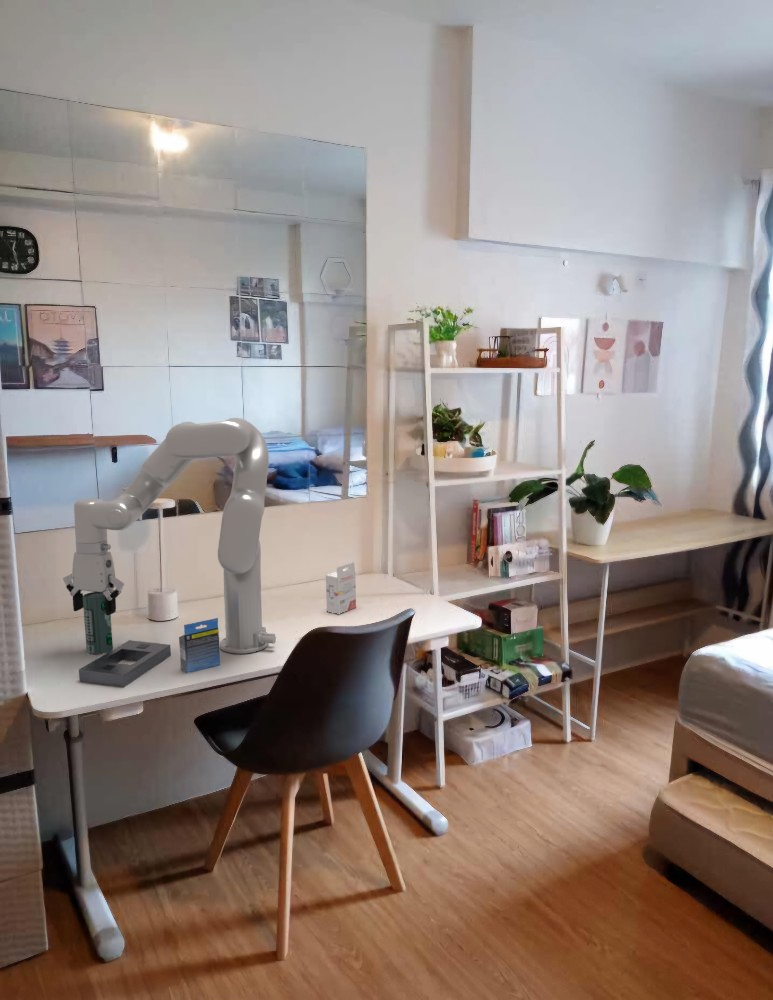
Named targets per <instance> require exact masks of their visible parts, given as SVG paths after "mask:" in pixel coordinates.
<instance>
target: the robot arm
mask: <svg viewBox="0 0 773 1000" xmlns="http://www.w3.org/2000/svg"><path fill="white" fill-rule="evenodd" d="M230 456H235V457H234V458H235V461H234V468H233V474H232V475H233V477H232V486H231V489H230V490H231V491H230V495H229V496H228V499H227V501H226V502H225V503H224V504H225V505H224V507H223V509H222V515H221V524H220V530H219V539H218V545H217V560H218V562H219V565H220V566H221V568H222V569H223V600H224V621H225V623H224V624H225V625H224V626H225V627H224V628H225V637H224V638H223V639H222V640H221V641H219V649H220V650H222V651H224V652H226V653H230V654H235V655H236V654H238V655H239V654H240V655H241V654H243V655H244V654H250V653H251V654H252V653H256V651H257V652H259V651H263V650H265V649H266V648H267V647H268V646H269V644H272V645H273V644H274V645H275V643H276V642H277V640H276V639H277V636H276V634H275V633H270V632H269V633H268V632H267V629H266V627H265V626H263V617H262V615H263V614H262V613H263V612H262V611H263V610H262V578H261V577H262V576H261V575H262V574H261V573H262V572H261V565H262V563H261V559H262V558H261V556H262V555H261V554H262V553H261V552H262V551H261V542H260V534H261V526H262V519H263V516H264V513H265V499H266V498H265V497H266V489H267V482H268V472H269V463H270V461H269V457H270V456H269V448H268V445H267V442H266V440H265V438H264V436H263V434H262V433H261V432H260V430H259V429H258V428H257V427H256V426H255V425H253V424H252V423H251V422H249V421H247V420H246V419H243V418H239V417H232V418H228V419H226V420H224V421H212V422H201V423H200V422H199V423H196V422H192V421H183V422H181V423H178V424H175V425H174V426H172V427H171V428H170V429H168V432H167V433H166V436H165V438H164V439H163V441H162V442H161V443H160V444H159V445H158V446H157V447H156V448H155V449H154V451H153V452H152V453H151V454H150V455H149V456H148V457H147V458H146V459H145V460H144V462H143V464H142V465H141V469H140V470H139V473H138V475H137V476H136V477H135V479H133V481H132V482H131V483H130V484H129V485H128V486H127V488H126V489H125V490H124V491H122V493H121V494H120V495H119V496H118V497H117V498H115V499H114V500H111V501H108V502H105V500H103V499H101V498H95V497H93V498H92V497H91V498H81V499H78V500H76V501H75V503H74V504H73V513H74V517H73V518H74V532H75V533H74V534H75V538H74V539H75V551H74V554H73V559H72V560H73V561H72V570H71V571H72V573H71V574H68V575H66V576H65V577H63V579H62V580H63V582H64V584H65V587H66V589H67V590H68V592H69V595H70V596H71V597H72V608H73V609H72V610H73V612H78V611H80V610H81V609H84V608H83V596H84V593H82V591H84V592H90V593H91V592H103V594H104V595H105V596H106V598H107V599H108V600H106V601H105V603H106V615H112V614H115V613H116V611H117V601H116V600H117V599H118V596H119V595H120V594H121V593H122V591H123V588H124V586H125V583H124V582H123V581H121V580H120V579H119V578H117V577H116V570H115V564H114V560H113V556H112V553H111V551H109V550H111V549H112V545H111V544H110V543H109V544H108V530H110V531H123V530H126V529H128V528H129V527H130V526H132V525H133V524H134V523H135V522H137V521H138V520H139V519H140V518H141V517H142V516H143V514H144V513H146V511H147V510H148V509H149V508H150V507H151V506H152V504H153V503H154V502H155V501H156V500H157V499H158V498H159V497H160V495H161V494H162V493H164V491H165V490H167V489H168V488H169V487H171V486H170V485H172V484H173V482H174V481H175V480H176V479H177V478H179V476H180V475H181V473H182V472H183V471H184V470H185V469H186V468H187V467H188V465H189V464H190V463H192V461H194V460H196V459H207V458H208V459H209V458H210V459H211V458H219V457H230Z"/></svg>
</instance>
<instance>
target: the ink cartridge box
mask: <svg viewBox="0 0 773 1000" xmlns="http://www.w3.org/2000/svg"><path fill="white" fill-rule="evenodd" d="M346 568H348V569H346ZM356 582H357V581H356V567H355V561H352V562H348V563H345V564H342V565H340V566H337V567H336V571H333V572H332V573H328V574H325V589H326V590H325V592H326V593H325V594H326V596H325V597H326V612H327V611H328V612H327V613H329V612H333V613H337V614H339V613H342V612H344V613H346V612H345V611H347V612H350V611H351V609H352V610H354V609H355V608H357V598H356V597H357V591H356V587H357V585H356ZM333 613H332V614H333ZM337 614H336V615H337ZM342 614H343V613H342ZM339 615H340V614H339Z"/></svg>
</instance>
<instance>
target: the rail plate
mask: <svg viewBox="0 0 773 1000" xmlns="http://www.w3.org/2000/svg"><path fill="white" fill-rule="evenodd" d="M171 648H172V647H171V644H167V643H160V642H159V643H158V642H147V641H142V640H141V641H140V640H131V639H130V640H127V641H126V642H124V643H122V644H120V645H119V646H117V647H115V648H113V650H111V651H110V652H108V653H105V654H102V655H101V656H100V657H98V658H96V659H95V660H93V661H90V662H89V663H86V664H85V665H84V666H82V667H81V668H79V669H78V678H79V679H78V681H79V682H80V683H88V684H96V685H103V686H110V687H111V686H112V687H119V688H125V687H127V686H128V685H130V684H132V683H133V682H135V680H137V679H139V678H140V677H141V676H143V675H145V674H147V672H149V671H150V670H152V669H154V668H155V667H156V666H158V665H159V664H161V663H163V661H166V660H167V659H169V658H170V657H171V656H172V654H171ZM122 661H127V662H134V663H132V664H128V663H120V662H122Z"/></svg>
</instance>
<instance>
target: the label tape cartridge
mask: <svg viewBox="0 0 773 1000" xmlns="http://www.w3.org/2000/svg"><path fill="white" fill-rule="evenodd" d="M218 621H219V618H218V617H216V618H211V619H206V620H201V621H198V622H193V623H188V624H187V623H186V624H184V625H183V627H184V628H183V629H184V631H183V632H184V634H183V635H181V636H179V637H178V641H179V643H178V644H179V658H180V659H179V661H180V662H179V663H180V669H181V671H183V672H184V673H185V674H190V673H194V672H197V671H200V670H201V671H202V670H205V669H207V668H212V667H213V668H214V667H216V666H220V665H221V652H220V650H221V648H220V635H219V622H218ZM201 625H202V626H206V627H202V628H199V627H200V626H201ZM197 627H198V628H197Z"/></svg>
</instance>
